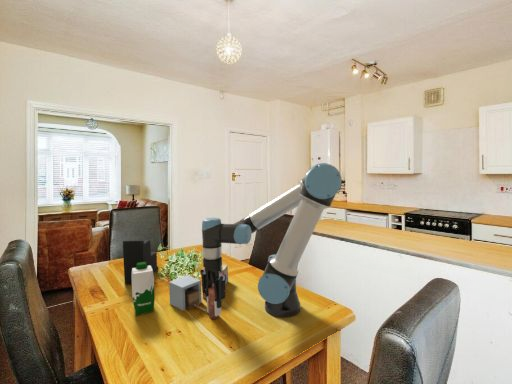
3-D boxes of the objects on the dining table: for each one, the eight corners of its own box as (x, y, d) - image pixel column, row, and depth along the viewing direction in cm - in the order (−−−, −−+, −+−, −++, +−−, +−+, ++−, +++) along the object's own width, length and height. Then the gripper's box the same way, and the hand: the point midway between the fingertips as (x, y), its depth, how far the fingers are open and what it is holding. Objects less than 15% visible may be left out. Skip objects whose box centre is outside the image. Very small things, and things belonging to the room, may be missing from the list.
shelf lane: (201, 302, 125) (200, 280, 125) (183, 310, 118) (182, 287, 117) (188, 296, 132) (187, 275, 131) (169, 303, 124) (169, 281, 124)
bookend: (141, 269, 170) (139, 232, 169) (158, 269, 171) (157, 231, 169) (124, 284, 147) (121, 241, 146) (144, 284, 147) (142, 240, 146)
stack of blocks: (217, 281, 150) (216, 258, 149) (228, 281, 149) (227, 259, 148) (202, 298, 129) (201, 273, 128) (215, 299, 128) (214, 273, 127)
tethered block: (222, 315, 113) (221, 287, 112) (212, 320, 109) (211, 291, 109) (192, 301, 126) (191, 275, 125) (183, 305, 123) (182, 279, 122)
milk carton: (153, 303, 125) (151, 260, 124) (156, 312, 117) (154, 265, 116) (132, 307, 121) (130, 263, 120) (133, 317, 113) (131, 269, 112)
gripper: (234, 258, 108) (235, 316, 110) (206, 250, 119) (207, 303, 121) (219, 263, 102) (221, 324, 104) (191, 255, 114) (193, 310, 115)
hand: (214, 312), depth 112 cm, fingers closed on tethered block, 4 cm apart
